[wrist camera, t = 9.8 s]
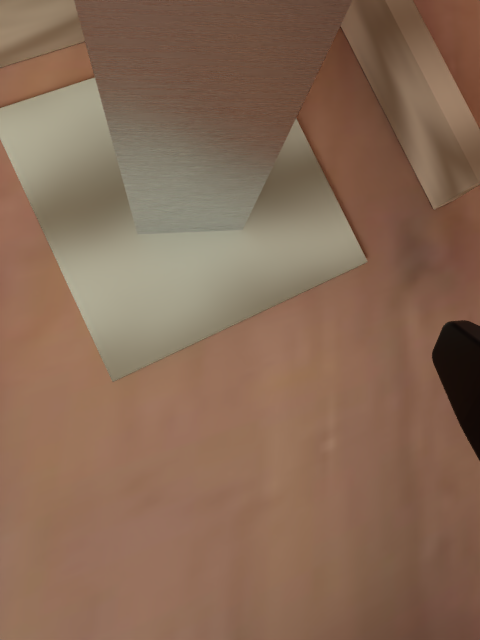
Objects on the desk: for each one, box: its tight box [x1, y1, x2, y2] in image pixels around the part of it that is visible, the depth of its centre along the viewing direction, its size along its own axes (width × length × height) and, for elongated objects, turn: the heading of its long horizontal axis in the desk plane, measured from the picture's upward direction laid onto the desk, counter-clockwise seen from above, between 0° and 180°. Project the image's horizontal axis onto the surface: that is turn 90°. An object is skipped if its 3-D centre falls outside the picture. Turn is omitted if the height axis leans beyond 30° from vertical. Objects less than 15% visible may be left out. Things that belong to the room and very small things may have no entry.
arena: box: [0, 0, 480, 381], centre depth 17 cm, size 15×23×3 cm
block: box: [74, 0, 352, 234], centre depth 12 cm, size 8×4×12 cm, turn 5°
